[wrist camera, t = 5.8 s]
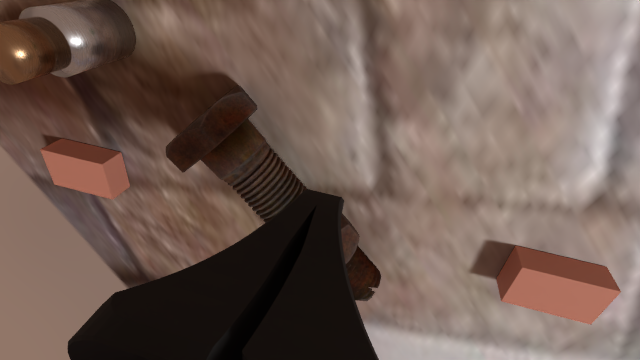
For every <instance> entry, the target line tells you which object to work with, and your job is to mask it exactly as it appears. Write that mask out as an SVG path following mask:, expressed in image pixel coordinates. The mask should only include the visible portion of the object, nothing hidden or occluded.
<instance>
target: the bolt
mask: <svg viewBox="0 0 640 360" xmlns="http://www.w3.org/2000/svg"><path fill="white" fill-rule="evenodd" d="M256 110H257V105H256V104H255V103H254V101H253V100H252V99H251V98H250V97H249V96H248V94H247V93H246V92H245V91H244V90H243V89H242V88H241V87H240V86H239V85H237V86H236V87H235V88H233V89H232V90H231V91H230V92H228V93H227V94H226V95H224V96H223V97H222V98H221V99H219V100H218V101H217V102H216V103H215V104H213V105H212V106H211V107H210V108H209V109H208V110H206V111H205V112H204V113H203V114H202V115H201V116H200V117H198V118H197V119H196V120H195V121H194V122H193V123H192V124H190V125H189V126H188V127H187V128H186V129H185V130H184V131H183V132H181V133H180V134H179V135H177V136H176V137H175V138H174V139H173V140H172V141H171V142H170V143H169V144H168V145H167V146H166V156H167V158H168V159H169V160H170V161H172V162H173V163H174V164H175V165H176V166H177V167H178V168H179V169H180V170H181V171H182V172H185V171H186V170H187V169H189V168H190V167H191V166H193V165H194V164H195V163H196V162H198V161H199V160H200V159H201V160H202V161H203V162H204V163H205V164H206V165H207V166H208V167H209V168H210V169H211V170H212V171H213V172H214V173H215V174H216V175H217V176H218V177H219V178H220V179H222V180H224V181H225V182H227V183H228V185H230V186H233V190H237V193H238V194H241V198H245V200H244V201H245V202H246V203H249V204H248V205H249V206H250V207H253V208H252V209H253V211H257V212H256V214H257V215H260V218H262V219H264V222H268V221H269V220H270V219H272V218H273V217H274V216H275V215H277V214H278V213H279V212H280V211H282V210H283V209H284V208H285V207H286V206H288V205H289V204H290V203H291V202H292V201H293V200H294V199H296V198H297V197H298V196H299V195H300V194H301V193H302V192H303V191H305V190H306V187H305V186H303V184H302V183H301V182H300V180H299V179H298V178H296V175H294V174H292V171H291V170H289V168H288V167H287V166H285V163H284V162H281V159H280V158H279V157H278V158H277V154H276V153H273V150H272V149H270V146H269V145H268V144H267V143H266V140H265V138H264V137H263V136H262V135H261V134H260V133H259V131H258V130H257V129H256V128H255V127H254V126H253V125H252V124H251V122H250V121H249V120H248V119H247V118H249V117H250V116H251V115H252V114H253V113H254V112H255V111H256ZM341 234H342V245H343V252H344V258H345V263H346V268H347V273H348V277H349V281H350V285H351V289H352V292H353V295H354V299H355V300H360V301H368V300H369V299H370V298H372V296H373V294H374V293H375V292H374V291H371V290H372V289H371V288H368V287H374V288H378V286H379V284H380V279H381V274H380V271H379V270H378V269H377V268H376V266H375V265H374V264H373V263H372V261H370V260H369V258H368V257H367V256H366V255H365V254H364V252H362V250H361V249H360V248H359V247H358V246H357V245H358V242H359V234H358V233H357V231H356V230H355V228H354V227H353V226H352V224H351V223H350V222H349V221H348V220H347V218H346V217H345V216H344V215H343V214H342V215H341Z"/></svg>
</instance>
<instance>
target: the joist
mask: <svg viewBox="0 0 640 360" xmlns="http://www.w3.org/2000/svg"><path fill="white" fill-rule="evenodd" d="M496 279H497V284H498V288H499V293H500V298H501V301H503V302H507V303H510V304H514V305H518V306H522V307H526V308H529V309H533V310H537V311H541V312H545V313H549V314H552V315H556V316H560V317H564V318H568V319H572V320H575V321H579V322H583V323H587V324H592V323H593V322H594V321H595V319H596V318H597V317H598V316H599V315H600V314H601V313H602V312H603V311H604V310H605V309H606V308H607V306H608V305H609V304H610V303H611V302H612V301H613V300H614V299H615V298H616V297H617V296H618V295H619V293H620V292H621V291H620V289H619V287H618V286H617V284H616V282H615V280H614V279H613V277H612V275H611V274H610V272H609V270H608V268H607V267H604V266H600V265H596V264H592V263H588V262H583V261H579V260H575V259H571V258H566V257H562V256H558V255H554V254H549V253H545V252H541V251H537V250H533V249H528V248H524V247H520V246H515V247H514V249H513V251H512V253H511V254H510V256H509V258H508V259H507V261H506V263H505V265H504V266H503V268H502V270H501V271H500V273H499V275H498V277H497V278H496Z"/></svg>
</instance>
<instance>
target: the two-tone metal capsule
mask: <svg viewBox="0 0 640 360" xmlns="http://www.w3.org/2000/svg"><path fill="white" fill-rule="evenodd" d="M135 44H136V36H135V31H134V28H133V25H132V23H131V21H130V19H129V17H128V16H127V14H126V13H125V12H124V11H123V10H122V9H121V8H120V7H119V6H118V5H117V4H115V3H114V2H112V1H110V0H80V1H73V2H65V3H58V4H50V5H43V6H35V7H29V8H26V9H24V10H23V11H22V12H21V14H20V16H19V19H17V20H11V21H5V22H0V81H1V82H3V83H6V84H10V85H14V84H17V83H21V82H24V81H27V80H30V79H33V78H36V77H40V76H43V75H46V74H49V73H51V74H53V75H55V76H58V77H70V76H73V75H75V74H78V73H81V72H84V71H87V70H90V69H93V68H96V67H99V66H102V65H105V64H108V63H111V62H114V61H116V60H119V59H122V58H125V57H128V56H129V55H130V54H131V53H132V52H133V51H134V48H135Z"/></svg>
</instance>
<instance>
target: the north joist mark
mask: <svg viewBox="0 0 640 360" xmlns="http://www.w3.org/2000/svg"><path fill="white" fill-rule="evenodd" d="M40 150H41V153H42V155H43V157H44V160H45V162H46V165H47V167H48V169H49V172H50V174H51V177H52V179H53V182H54V184H55V185H59V186H63V187H67V188H71V189H75V190H78V191H82V192H86V193H90V194H94V195H98V196H101V197H105V198H109V199H114V198H115V197H117V196H118V195H119V194H121V193H122V192H123V191H124V190H126V189H127V188H128V187H130V184H129V180H128V176H127V172H126V169H125V165H124V161H123V157H122V153H121V152H118V151H114V150H110V149H105V148H101V147H97V146H93V145H88V144H84V143H80V142H76V141H71V140H67V139H63V138H62V139H60V140H58V141H56V142H54V143H52V144H50V145H48V146H46V147H44V148H42V149H40Z"/></svg>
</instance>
